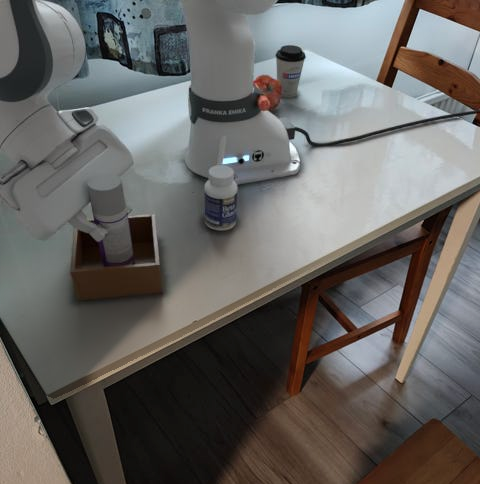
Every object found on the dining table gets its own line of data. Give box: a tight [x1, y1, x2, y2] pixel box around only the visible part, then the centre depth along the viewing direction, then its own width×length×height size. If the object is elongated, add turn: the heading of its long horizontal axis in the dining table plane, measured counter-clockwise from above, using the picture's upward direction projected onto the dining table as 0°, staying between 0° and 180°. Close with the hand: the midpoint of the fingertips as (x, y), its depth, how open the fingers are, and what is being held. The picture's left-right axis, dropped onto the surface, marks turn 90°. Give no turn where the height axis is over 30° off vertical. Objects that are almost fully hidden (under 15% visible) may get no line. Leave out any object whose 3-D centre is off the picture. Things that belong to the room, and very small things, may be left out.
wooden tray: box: [69, 213, 164, 301], centre depth 78 cm, size 12×12×5 cm
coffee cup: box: [275, 44, 307, 98], centre depth 122 cm, size 7×7×10 cm
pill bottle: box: [203, 165, 238, 232], centre depth 86 cm, size 5×5×10 cm
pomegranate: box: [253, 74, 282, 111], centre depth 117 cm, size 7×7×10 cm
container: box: [87, 172, 135, 267], centre depth 75 cm, size 5×5×15 cm
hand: (116, 225), depth 74 cm, fingers closed on container, 4 cm apart
